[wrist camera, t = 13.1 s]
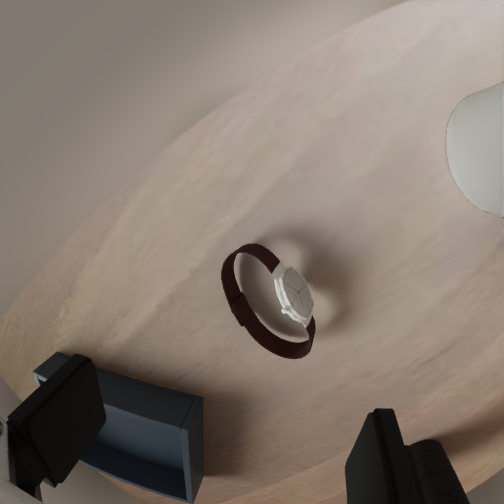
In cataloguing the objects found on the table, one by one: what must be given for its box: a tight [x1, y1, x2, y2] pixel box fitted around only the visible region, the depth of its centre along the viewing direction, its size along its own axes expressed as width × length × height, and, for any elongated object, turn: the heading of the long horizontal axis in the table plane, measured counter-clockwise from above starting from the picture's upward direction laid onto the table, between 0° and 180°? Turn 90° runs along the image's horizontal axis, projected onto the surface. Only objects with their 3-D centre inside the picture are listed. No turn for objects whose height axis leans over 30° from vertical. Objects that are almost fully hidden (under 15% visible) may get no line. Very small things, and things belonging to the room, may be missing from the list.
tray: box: [33, 352, 203, 504], centre depth 24 cm, size 15×12×4 cm
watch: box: [221, 244, 316, 359], centre depth 19 cm, size 8×5×4 cm, turn 33°
